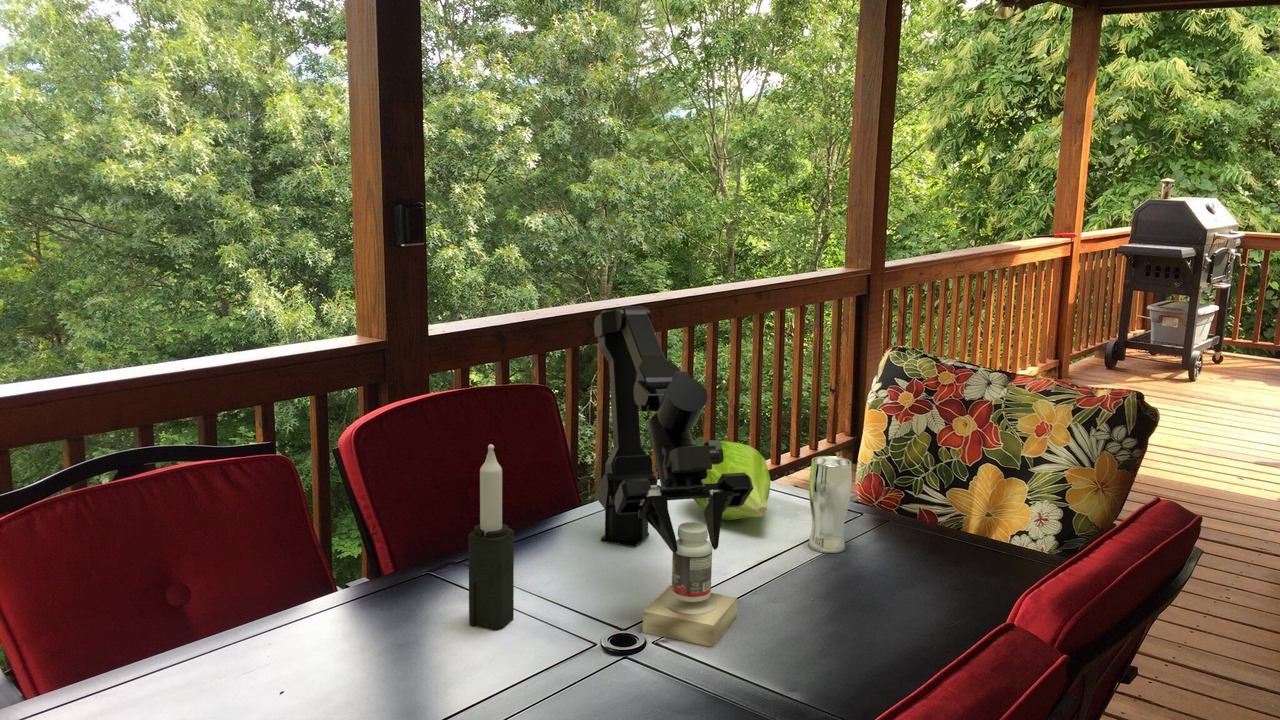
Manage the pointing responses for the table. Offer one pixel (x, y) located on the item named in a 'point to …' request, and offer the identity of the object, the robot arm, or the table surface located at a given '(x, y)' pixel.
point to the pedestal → (690, 618)
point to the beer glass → (829, 502)
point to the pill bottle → (692, 563)
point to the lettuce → (741, 461)
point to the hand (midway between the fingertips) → (695, 549)
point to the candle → (491, 555)
